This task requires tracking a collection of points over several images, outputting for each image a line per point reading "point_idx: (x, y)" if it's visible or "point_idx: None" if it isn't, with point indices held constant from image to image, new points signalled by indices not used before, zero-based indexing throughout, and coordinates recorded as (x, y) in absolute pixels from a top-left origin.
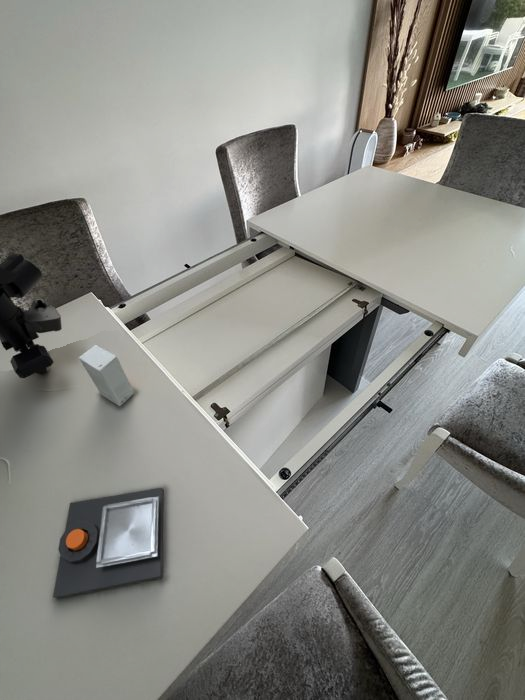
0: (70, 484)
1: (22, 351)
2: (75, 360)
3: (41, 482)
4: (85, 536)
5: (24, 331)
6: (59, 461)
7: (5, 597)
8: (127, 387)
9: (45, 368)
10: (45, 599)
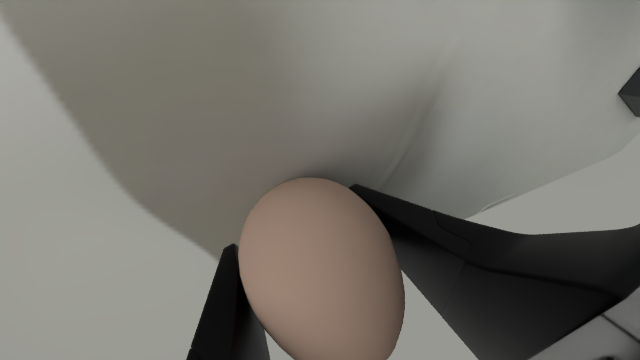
0: (598, 97)
1: (266, 358)
2: (282, 32)
3: (552, 148)
4: None
5: None
6: (559, 119)
7: (585, 167)
8: None
9: (393, 200)
10: (623, 128)
